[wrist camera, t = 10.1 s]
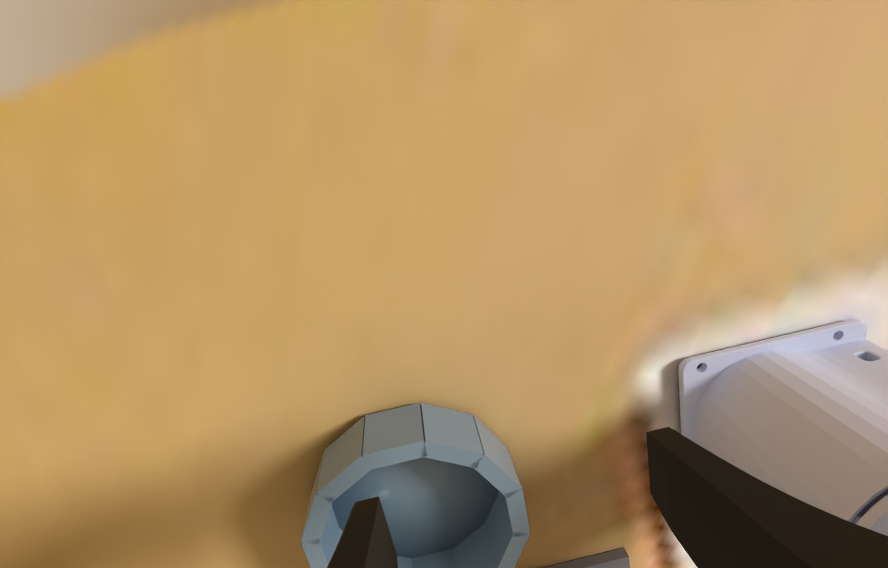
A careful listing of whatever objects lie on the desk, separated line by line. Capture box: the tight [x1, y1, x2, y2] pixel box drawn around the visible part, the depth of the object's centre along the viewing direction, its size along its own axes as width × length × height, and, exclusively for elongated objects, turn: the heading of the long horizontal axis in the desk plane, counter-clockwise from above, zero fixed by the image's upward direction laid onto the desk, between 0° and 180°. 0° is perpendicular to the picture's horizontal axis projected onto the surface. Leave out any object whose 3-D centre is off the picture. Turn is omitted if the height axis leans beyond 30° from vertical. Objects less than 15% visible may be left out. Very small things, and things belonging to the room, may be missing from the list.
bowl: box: [301, 403, 530, 568], centre depth 24 cm, size 10×10×3 cm
